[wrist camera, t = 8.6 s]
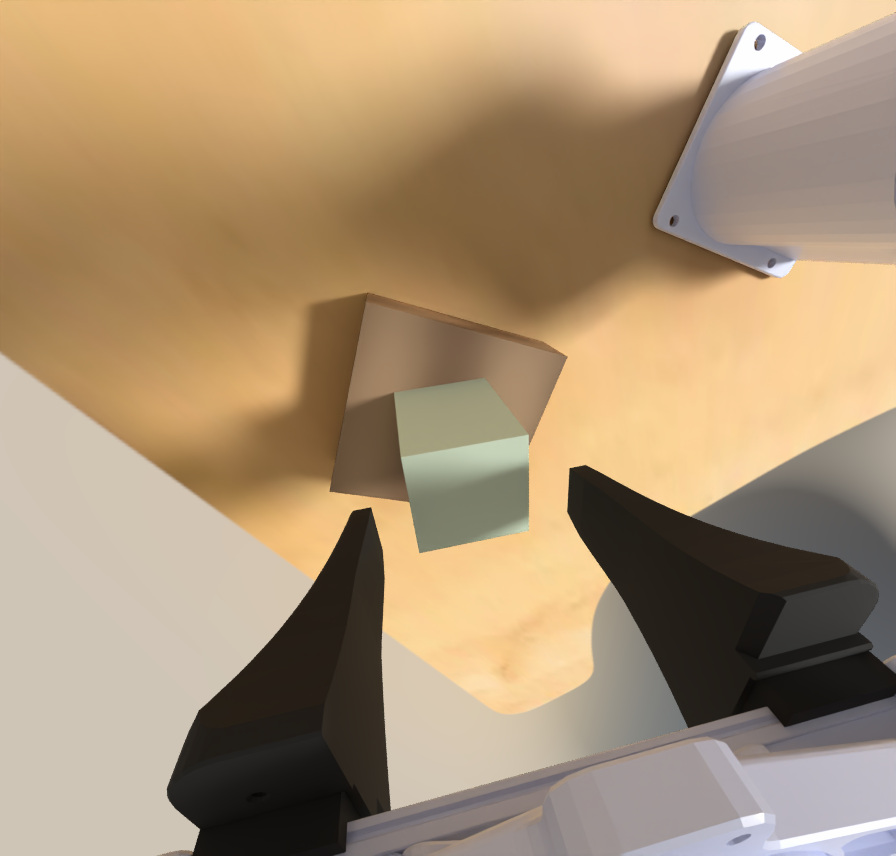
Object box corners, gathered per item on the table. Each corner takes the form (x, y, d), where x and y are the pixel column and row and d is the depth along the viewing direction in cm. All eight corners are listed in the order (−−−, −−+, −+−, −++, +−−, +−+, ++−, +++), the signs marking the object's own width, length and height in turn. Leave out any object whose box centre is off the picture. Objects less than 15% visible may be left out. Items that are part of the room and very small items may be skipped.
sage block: (484, 377, 18) (528, 434, 13) (489, 454, 20) (528, 530, 15) (393, 392, 18) (400, 457, 12) (408, 469, 20) (419, 553, 14)
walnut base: (543, 342, 21) (567, 356, 18) (486, 484, 25) (499, 513, 22) (367, 292, 18) (365, 301, 16) (335, 461, 22) (329, 491, 20)
